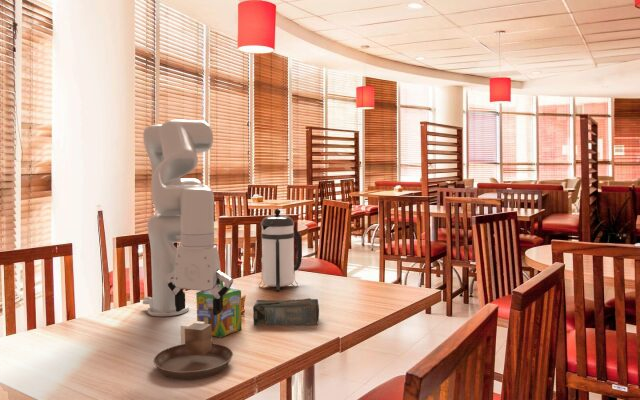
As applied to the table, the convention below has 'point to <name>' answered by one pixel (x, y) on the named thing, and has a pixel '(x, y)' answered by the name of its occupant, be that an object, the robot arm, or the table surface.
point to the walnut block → (198, 339)
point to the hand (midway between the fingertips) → (198, 311)
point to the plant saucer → (192, 362)
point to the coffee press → (279, 251)
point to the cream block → (185, 325)
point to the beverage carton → (286, 312)
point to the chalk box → (227, 318)
